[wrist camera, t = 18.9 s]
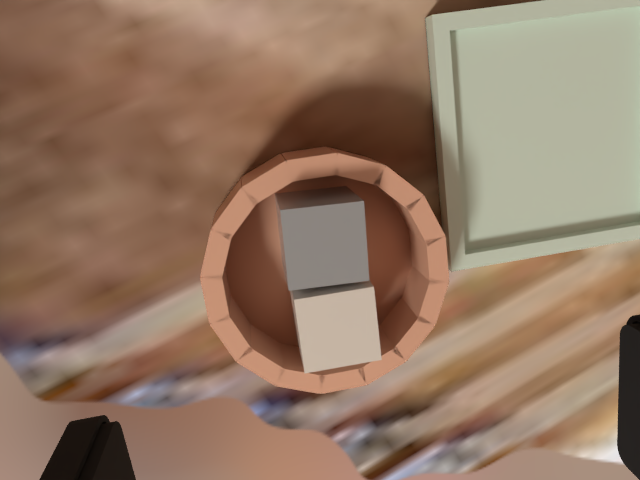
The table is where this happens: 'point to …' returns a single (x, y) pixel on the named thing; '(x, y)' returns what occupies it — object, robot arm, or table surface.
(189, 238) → the table surface
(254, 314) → the bowl
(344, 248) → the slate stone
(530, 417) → the table surface
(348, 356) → the beige block
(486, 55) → the parts tray
